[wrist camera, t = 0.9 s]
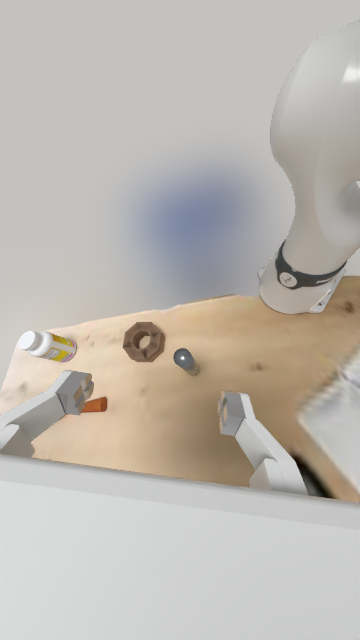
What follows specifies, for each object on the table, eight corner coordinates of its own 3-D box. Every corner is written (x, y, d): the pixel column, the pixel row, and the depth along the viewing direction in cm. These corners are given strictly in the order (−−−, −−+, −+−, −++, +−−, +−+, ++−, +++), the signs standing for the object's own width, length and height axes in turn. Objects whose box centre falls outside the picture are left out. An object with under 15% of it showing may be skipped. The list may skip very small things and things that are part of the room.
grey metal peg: (193, 360, 45) (182, 344, 31) (201, 369, 44) (194, 357, 30) (185, 368, 45) (170, 356, 31) (193, 377, 44) (181, 369, 29)
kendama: (98, 421, 41) (16, 434, 42) (110, 413, 46) (38, 425, 47) (96, 393, 42) (17, 407, 43) (108, 389, 48) (38, 401, 49)
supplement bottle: (62, 340, 56) (21, 326, 44) (80, 341, 54) (42, 326, 43) (54, 361, 53) (9, 352, 42) (73, 363, 52) (31, 354, 40)
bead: (150, 320, 52) (145, 315, 49) (171, 344, 48) (167, 340, 45) (124, 343, 51) (117, 339, 48) (143, 369, 47) (137, 367, 43)
